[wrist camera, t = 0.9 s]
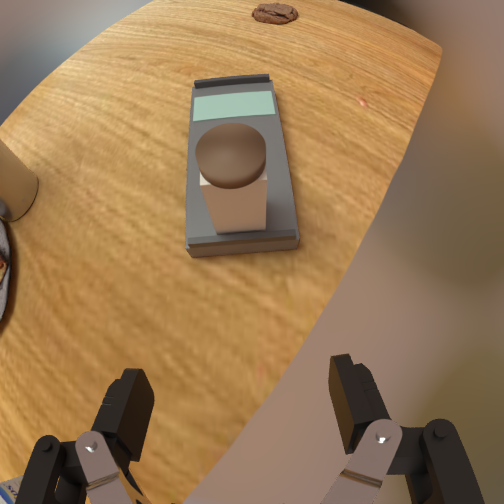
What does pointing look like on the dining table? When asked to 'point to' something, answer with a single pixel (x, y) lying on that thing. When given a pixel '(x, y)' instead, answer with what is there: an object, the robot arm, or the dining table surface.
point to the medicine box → (10, 490)
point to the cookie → (274, 13)
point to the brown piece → (233, 177)
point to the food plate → (4, 267)
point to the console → (278, 177)
